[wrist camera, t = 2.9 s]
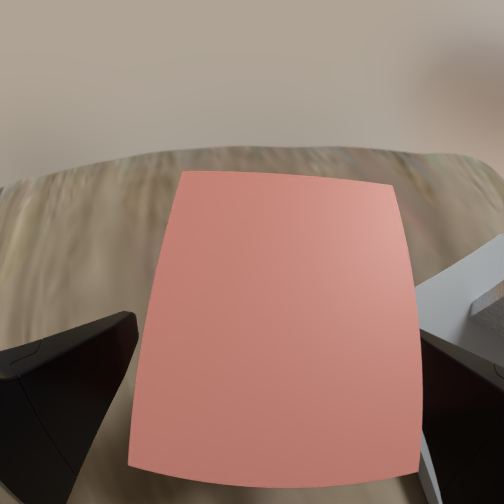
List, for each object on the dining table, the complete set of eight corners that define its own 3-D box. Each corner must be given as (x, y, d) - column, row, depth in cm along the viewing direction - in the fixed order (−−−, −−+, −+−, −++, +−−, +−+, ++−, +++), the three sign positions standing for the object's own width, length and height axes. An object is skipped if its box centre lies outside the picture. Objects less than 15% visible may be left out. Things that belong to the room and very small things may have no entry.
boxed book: (297, 424, 14) (417, 471, 3) (222, 420, 14) (127, 465, 3) (302, 337, 16) (392, 185, 5) (230, 333, 16) (182, 170, 5)
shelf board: (559, 407, 11) (570, 404, 9) (439, 539, 8) (450, 544, 7) (493, 241, 19) (502, 232, 18) (352, 322, 16) (360, 315, 15)
